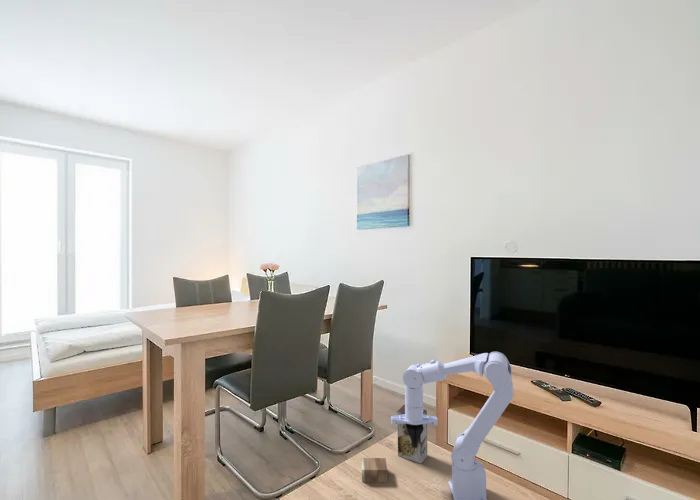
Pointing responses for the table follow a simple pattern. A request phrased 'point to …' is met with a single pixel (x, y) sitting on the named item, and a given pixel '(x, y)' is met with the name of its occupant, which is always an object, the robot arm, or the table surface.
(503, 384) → the robot arm
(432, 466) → the table surface
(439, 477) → the table surface
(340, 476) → the table surface
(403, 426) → the coffee box
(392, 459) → the table surface
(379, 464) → the wooden block
